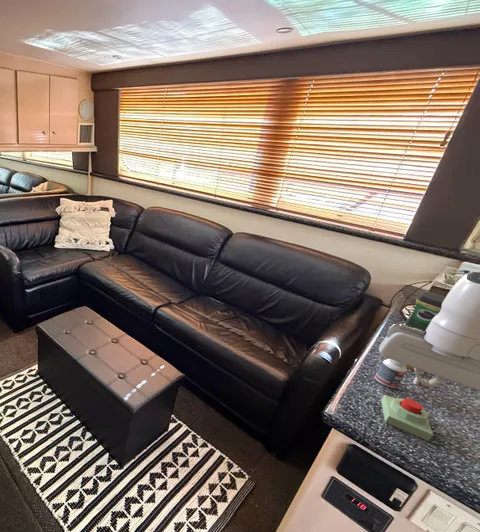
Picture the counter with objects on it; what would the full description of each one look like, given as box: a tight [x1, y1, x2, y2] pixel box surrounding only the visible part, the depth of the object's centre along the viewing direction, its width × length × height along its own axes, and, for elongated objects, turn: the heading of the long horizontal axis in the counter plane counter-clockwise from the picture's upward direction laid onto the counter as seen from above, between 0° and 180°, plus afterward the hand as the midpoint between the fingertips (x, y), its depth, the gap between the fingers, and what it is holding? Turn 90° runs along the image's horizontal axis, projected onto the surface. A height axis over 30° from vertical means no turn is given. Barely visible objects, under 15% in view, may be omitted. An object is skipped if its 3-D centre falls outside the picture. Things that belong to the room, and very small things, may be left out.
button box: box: [380, 394, 434, 442], centre depth 81 cm, size 10×8×4 cm
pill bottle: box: [374, 358, 408, 389], centre depth 94 cm, size 5×5×9 cm
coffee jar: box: [403, 290, 446, 331], centre depth 120 cm, size 10×8×19 cm
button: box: [400, 397, 424, 414], centre depth 80 cm, size 4×4×2 cm
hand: (421, 386), depth 78 cm, fingers closed
